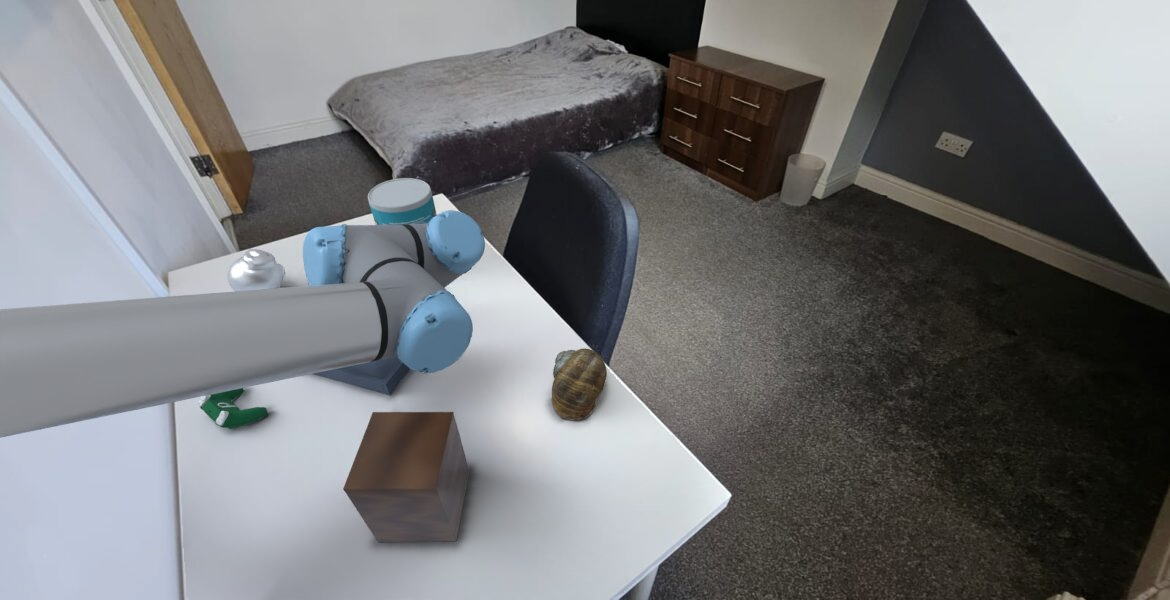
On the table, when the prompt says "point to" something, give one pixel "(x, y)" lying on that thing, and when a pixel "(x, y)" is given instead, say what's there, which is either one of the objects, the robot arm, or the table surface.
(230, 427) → the gaming controller
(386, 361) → the tray
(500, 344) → the table surface
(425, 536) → the block
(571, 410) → the seashell
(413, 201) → the food can
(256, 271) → the silver rounded lump
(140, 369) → the robot arm
